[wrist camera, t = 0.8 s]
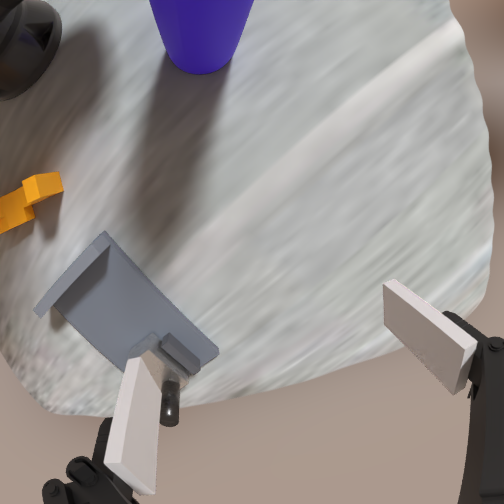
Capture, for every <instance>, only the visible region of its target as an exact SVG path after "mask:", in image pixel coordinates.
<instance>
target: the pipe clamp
mask: <svg viewBox="0 0 504 504" xmlns="http://www.w3.org/2000/svg"><path fill="white" fill-rule="evenodd" d="M22 184H23V186H22V187H20V188H18V189H17V190H15V191H13V192H11V193H9V194H7V195H5V196H2V197H0V234H2V233H4V232H6V231H8V230H10V229H12V228H14V227H16V226H18V225H20V224H23V223H25V222H27V221H29V220H31V219H34V218H36V217H35V214H34V211H33V207H32V205H33V204H35V203H38V202H40V201H42V200H44V199H46V198H49V197H51V196H53V195H55V194H58V193H60V192H62V191H64V190H63V186H62V182H61V178H60V174H59V172H51V173H44V174H37V175H33V176H31V177H29V178H27V179H25V180H23V181H22Z"/></svg>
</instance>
